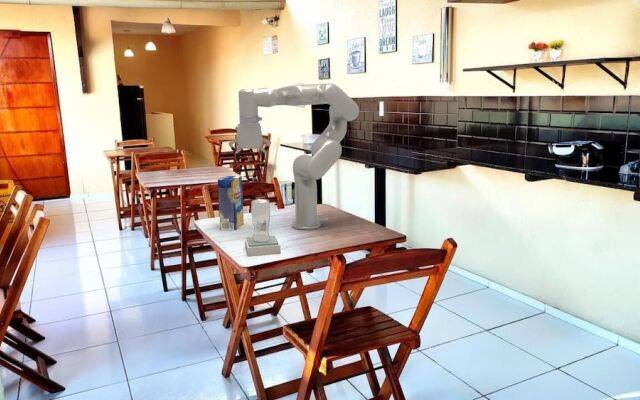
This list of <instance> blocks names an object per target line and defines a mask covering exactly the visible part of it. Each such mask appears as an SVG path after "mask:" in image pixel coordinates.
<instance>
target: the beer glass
mask: <svg viewBox="0 0 640 400" xmlns="http://www.w3.org/2000/svg"><path fill="white" fill-rule="evenodd" d="M250 202H251V204H250V205H251V207H250V208H251V210H250V211H251V213H250V214H251V220H252V225H253V231H254V233H253V235H254V236H253V237H254V241H255V242H267V241H269V240H270V237H269V236H270V233H269V230H270V229H269V228H270V227H269V226H270V221H271V207H270V200H269V199H266V198H264V199H263V198H262V199H261V198H260V199H253V200H251V201H250Z"/></svg>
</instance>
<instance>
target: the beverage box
mask: <svg viewBox="0 0 640 400" xmlns="http://www.w3.org/2000/svg"><path fill="white" fill-rule="evenodd" d="M242 178H243V177H242V175H241V176H240V175H226V176H224V177H221V178H218V179H217V194H218V211H219V213H218V214H219V215H218V216H219V230H220V231H236V230H238V229H239V228H241V227H242V226H243V225H245V223H244V222H245V220H244V200H243V199H244V197H243V179H242Z"/></svg>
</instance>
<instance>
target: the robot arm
mask: <svg viewBox="0 0 640 400" xmlns="http://www.w3.org/2000/svg"><path fill="white" fill-rule="evenodd" d="M324 104H326V105H327V104H328V105H329V111H328V114H329V124H328V125H327V127H326V128H325V129H324V130H323V132H322V133H320V135H319V136H318V137H317V138H316V139H315V140H314V141H313V143H312V144H311V147H310V153H311V154H312V155H308V154H301V155H298V156H297V157H296V158H294V161H293V163H292V174H293V179H294V200H295V201H294V204H295V207H294V208H295V209H294V211H295V215H294V216H295V221H294V222H292V225H291V226H292V228H293V229H297V230H303V231H306V230H307V231H308V230H311V231H312V230H317V229H319V228H321V226H322V225H321V223H323V222H324V223H325V222H326V223H328V221H329V218H328V217H327V216H325V217H324V216H318V188H317V187H318V186H317V180H320V179H321V178H322V177H324V176H325V174H327V173H328V172H329V170H331V168H332V167H333V166H335V163H336V162H337V161H338V160H339V159H340V158H341V155H342V151H343V149H342V145H341V141H342V140H343V139H344V138H345V136H346V134H347V131H348V130H347V129H348V123H347V122H352V121H354V120H356V119H357V118H358V116H359V115H360V114H359V113H360V108H359V106H358V104H357V102H355V101H354V99H352V98H351V97H350V96H349V94H347V93H346V92H345V91H344V90H343V89H342V88H340V87H339V86H338V85H336V84H334V83H314V84H313V83H309V84H295V85H289V86H279V87H263V88H258V89H254V88H241V89H240V90H239V91H238V112H239V113H238V114H239V115H238V117H239V123H238V124H237V126H236V127H237V128H236V138H234V139H233V140H231V141H229V142H228V146H229V147H230V149H231V151H233V152H234V153H235V161H236V162H237V164H240V163H241V156H240V151H241V150H249V149H250V150H251V149H252V150H253V149H259V150H260V151H261V152H260V161H261V163H264V161H266V152H267V151H268V150H269V148H270V146H271V144H272V141H271V140H269V139H268V138H267V139H266V138H265V137H263V132H262V131H263V130H262V125H261V123H260V122H261V121H263V117H262V116H259V107H260V108H272V107H274V106H291V107H297V106H299V107H300V106H311V105H324ZM264 142H265V143H266V145H265V146H264V147H263V143H264ZM235 143H236V144H237V148H235V147H234V144H235Z"/></svg>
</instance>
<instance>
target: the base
mask: <svg viewBox="0 0 640 400" xmlns="http://www.w3.org/2000/svg"><path fill="white" fill-rule="evenodd" d="M269 237H270V240H269V241H267V242H255V241H254V236H247V237H246V238H244V248H245V251H246V254H247V257H255V256H268V255H269V256H270V255H280V254H281V250H282V249H281V244H280V242H279V240H278V238H277V237H276V236H275V234H273V235H269Z"/></svg>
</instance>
